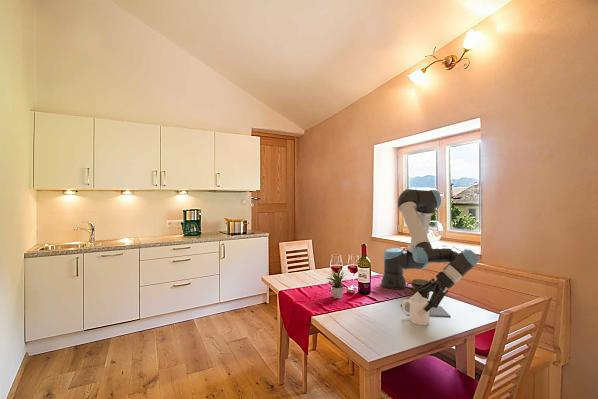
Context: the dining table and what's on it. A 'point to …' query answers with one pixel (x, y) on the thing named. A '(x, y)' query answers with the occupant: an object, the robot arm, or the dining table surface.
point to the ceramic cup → (416, 284)
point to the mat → (432, 311)
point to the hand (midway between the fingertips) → (414, 308)
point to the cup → (414, 307)
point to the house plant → (337, 284)
